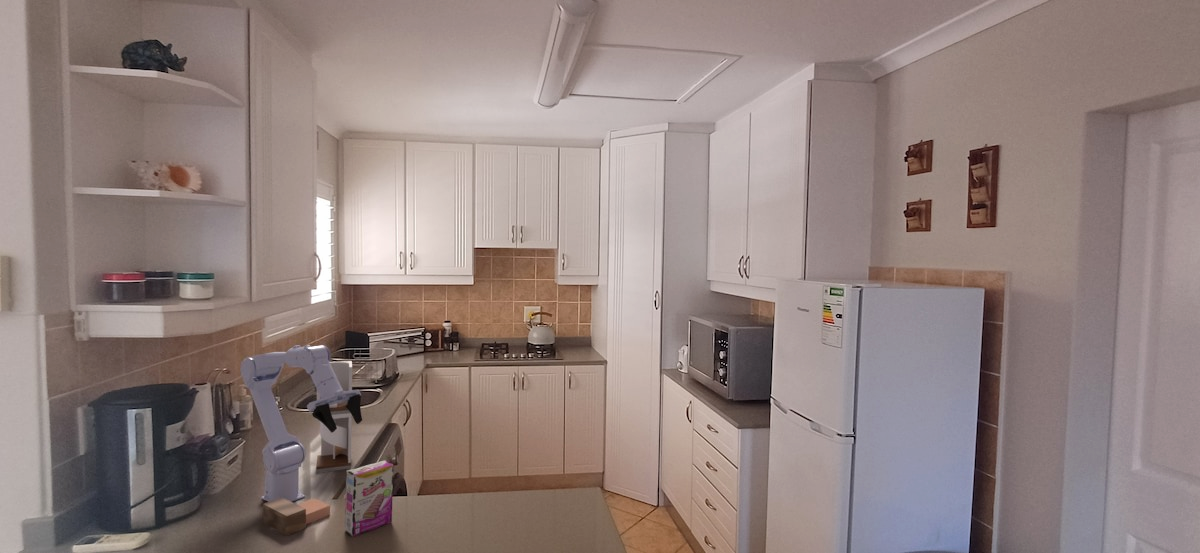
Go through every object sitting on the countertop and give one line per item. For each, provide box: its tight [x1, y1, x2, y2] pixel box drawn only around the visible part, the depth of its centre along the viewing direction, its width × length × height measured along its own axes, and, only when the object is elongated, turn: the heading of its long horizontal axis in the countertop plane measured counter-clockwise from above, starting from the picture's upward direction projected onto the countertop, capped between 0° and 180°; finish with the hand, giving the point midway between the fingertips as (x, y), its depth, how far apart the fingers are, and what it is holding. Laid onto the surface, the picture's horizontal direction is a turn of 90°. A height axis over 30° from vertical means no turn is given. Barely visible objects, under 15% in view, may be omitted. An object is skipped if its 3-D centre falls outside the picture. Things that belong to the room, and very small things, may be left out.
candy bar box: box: [344, 460, 394, 537], centre depth 147 cm, size 11×5×16 cm, turn 141°
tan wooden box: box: [262, 498, 307, 537], centre depth 146 cm, size 12×5×5 cm, turn 58°
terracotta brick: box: [296, 498, 331, 525], centre depth 152 cm, size 8×7×3 cm
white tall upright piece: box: [315, 360, 353, 474], centre depth 188 cm, size 11×11×35 cm
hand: (347, 426), depth 149 cm, fingers open, 7 cm apart
